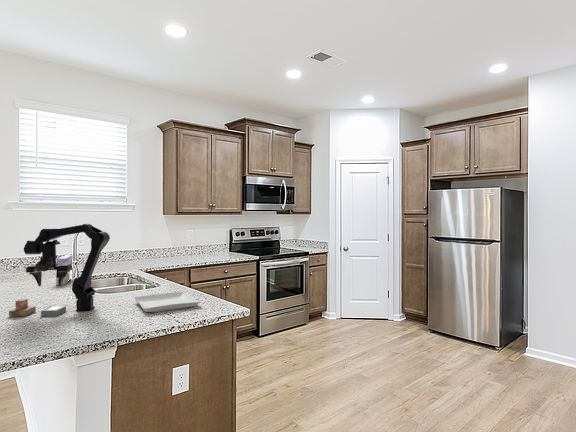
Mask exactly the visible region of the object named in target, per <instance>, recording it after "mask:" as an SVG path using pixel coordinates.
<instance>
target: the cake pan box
mask: <svg viewBox="0 0 576 432" xmlns="http://www.w3.org/2000/svg"><path fill="white" fill-rule="evenodd" d="M72 259H73V260H74V255H73V254H66V255H62V256H60V257H56V264H58V266H59V265H63V264H71V265H72ZM55 271H56V275H55V276H56V277H55V280H56V281H55V283H56V286H59V274H58V272H60V271H59V270H55ZM69 272H70V270H69ZM69 272H67V273H66V275H65V277H64V279H63V282H62V284H61V285H60V286H64V285H66V284H68V283H69V282H68V280H69Z"/></svg>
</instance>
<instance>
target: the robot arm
mask: <svg viewBox="0 0 576 432" xmlns="http://www.w3.org/2000/svg"><path fill="white" fill-rule="evenodd" d="M82 233H84V234H85V235H86V236H87V238H89V239H90V246H91V248H90V251H89V253H88V255H87V258H86V260H85V264H84V266H83V269H82V271H81V274H80V276H78V277H75V278H74V279H73V281H72V284H71V292H72V293H73V294H74V296H75V299H76V301H75V303H76V305H75V306H76V307H75V308H76V309H75V312H83V311H84V312H85V311H86V312H88V311H91V310H93V309H94V308H96V307H95V306H94V295H95V293H96V292H97V291H96V290H95V289H94V288H93V287H92V276H93V273H94V271H95V268H96V266H97V264H98V260H99V258H100V256H101V253H102V251H103V250H104V249H105V247H106V246H107V245H108V243H109V241H110V239H111V237H110V234H109V233H108V232H106V231H102V230H101V229H99V228H98V227H95V226H94V225H92V224H90V223H82V224H79V225H73V226H69V227H68V226H67V227H62V228H59V227H49V228H42V229H40V231H39V234H38V236H37V237H36V238H35V240H26V243H25V244H24V247H23V252H24V253H25V255H41V257H40V258H39V259H40V260H39V261H37V263H36V264H32V265H29V266H27V267H26V268H25V273H28V274H29V275H32V277H34V279H35V281H36V282H37V286H38V287H42V273H43V272H48V271H57V270H59V271H60V272H58V274H59V285H58V286H62V285H61V284H62V282H63V279H64V277H65V275H66V273H67V272H69V270H72V271H73V267H72V265H71V264H63V265H59V266H58V264H57V258H58V254H57V245H61V242H60V241H59V240H58V239H59V238H61V237H64V236H69V235H75V234H76V235H77V234H82Z"/></svg>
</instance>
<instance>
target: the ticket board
mask: <svg viewBox="0 0 576 432" xmlns="http://www.w3.org/2000/svg"><path fill="white" fill-rule="evenodd" d="M65 312H67V306H66V305H63V306H62V305H61V306H60V305H58V306H53V305H51V306H48V307H46V308H44V309H42V310H41V311H40V317H58V316H60V315H62V314H64V313H65Z"/></svg>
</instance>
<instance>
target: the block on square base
mask: <svg viewBox="0 0 576 432" xmlns="http://www.w3.org/2000/svg"><path fill="white" fill-rule="evenodd" d="M28 303H29V300H28V298H19V299H18V300H15V308H14V309H10V310H8V317H27V316H29V315H31V314H33V313H35V312H36V309H37V306H36V305H34V306H33V305H32V306H31V305H30V306H29V304H28Z"/></svg>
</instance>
